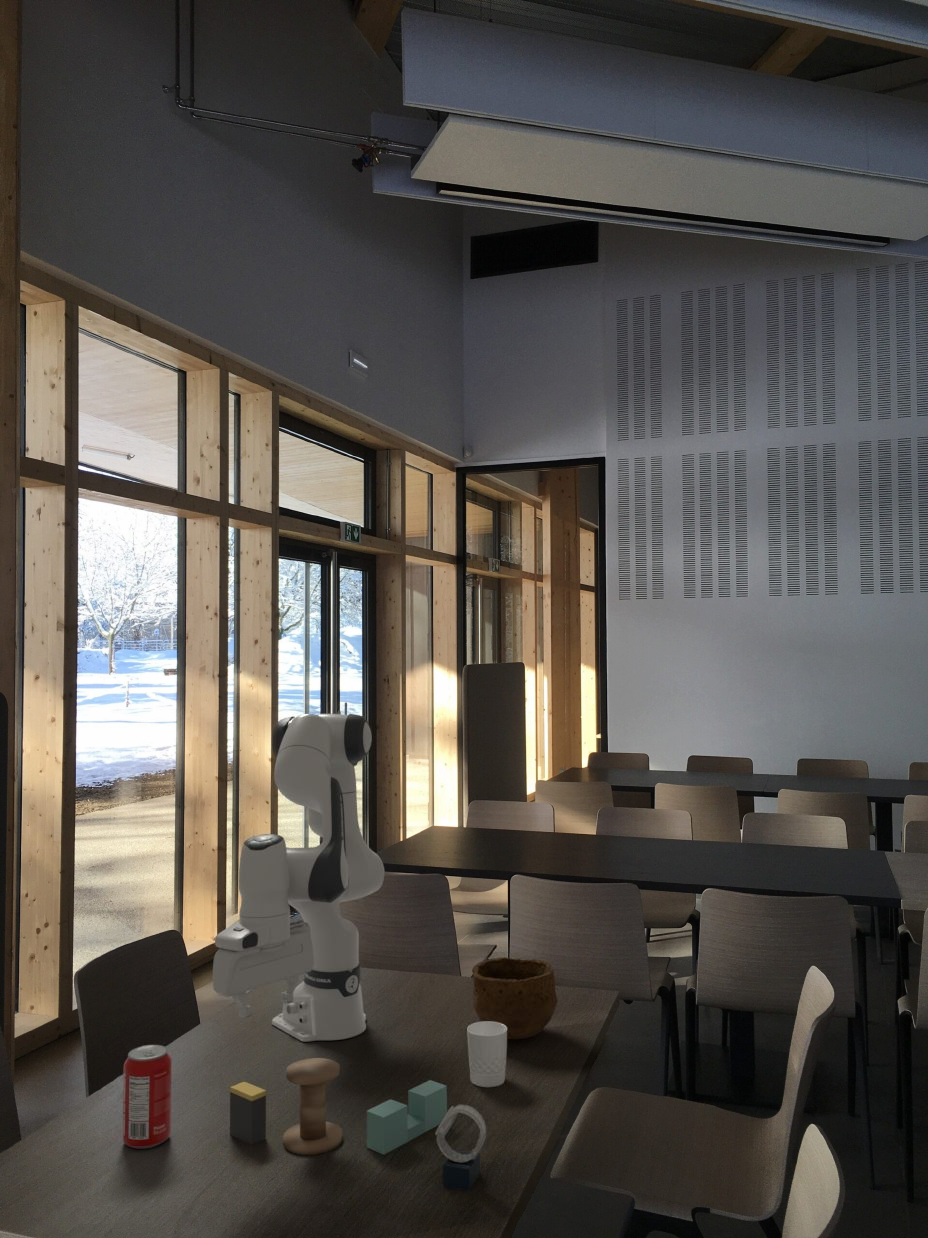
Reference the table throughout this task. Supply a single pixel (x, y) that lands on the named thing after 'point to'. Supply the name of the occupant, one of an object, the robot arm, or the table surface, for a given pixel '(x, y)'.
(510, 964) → the bowl
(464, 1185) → the watch
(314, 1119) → the bobbin
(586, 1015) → the table surface
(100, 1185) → the table surface
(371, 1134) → the notch board
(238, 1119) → the yellow and black block
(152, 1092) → the soda can
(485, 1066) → the white cup
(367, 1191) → the table surface
